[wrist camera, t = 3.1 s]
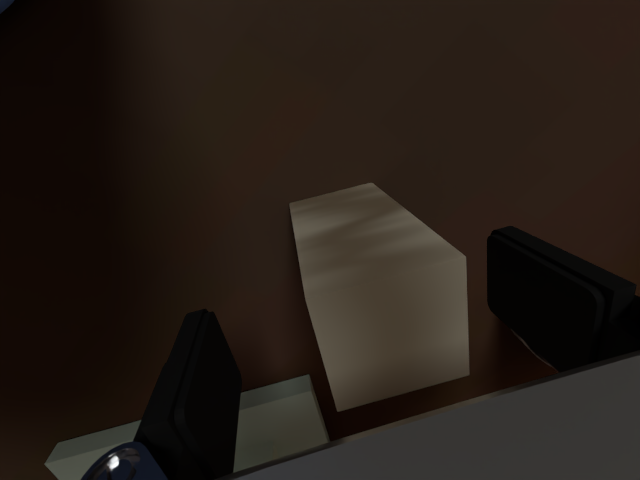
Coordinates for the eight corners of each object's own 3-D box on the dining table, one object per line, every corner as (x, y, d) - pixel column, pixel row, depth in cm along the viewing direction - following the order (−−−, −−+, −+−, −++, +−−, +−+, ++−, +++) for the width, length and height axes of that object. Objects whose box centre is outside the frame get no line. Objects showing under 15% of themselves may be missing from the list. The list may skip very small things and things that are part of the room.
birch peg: (371, 182, 15) (465, 256, 8) (383, 256, 17) (469, 374, 9) (289, 203, 15) (305, 299, 8) (308, 275, 16) (337, 412, 9)
